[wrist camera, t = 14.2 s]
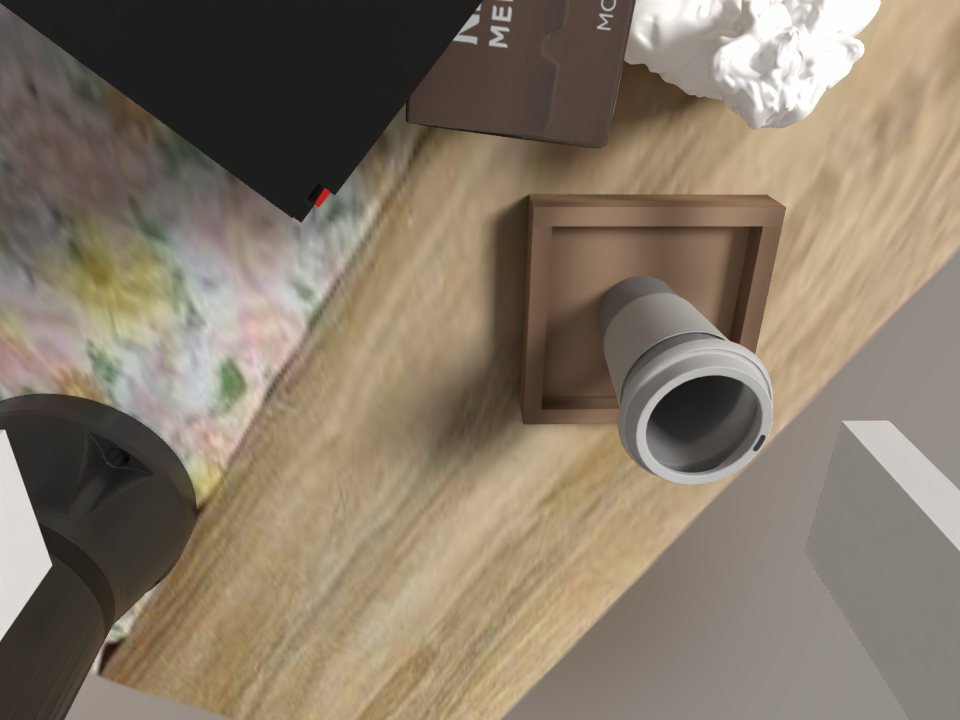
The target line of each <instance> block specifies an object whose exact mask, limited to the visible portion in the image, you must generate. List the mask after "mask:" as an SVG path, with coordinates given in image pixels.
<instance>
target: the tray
mask: <svg viewBox="0 0 960 720" xmlns="http://www.w3.org/2000/svg"><path fill="white" fill-rule="evenodd" d="M785 210H786V207H785V206H783V205H782V204H780V203H779V202H777V201H776V200H774V199H772V198H771V197H769V196H768V195H529V204H528V227H527V251H526V274H525V297H524V320H523V344H522V367H521V390H520V406H521V412H522V418H523V423H524V424H602V423H618V414H619V404H618V401H617V397H616V394H615V390H614V387H613V383H612V380H611V376H610V372H609V369H608V365H607V362H606V358H605V355H604V342H603V339H602V335H601V332H600V328H599V325H598V310H599V307H600V304H601V302H602V300H603V298H604V296H605V295H606V294H607V293H608V291H609V290H610V289H611V288H613V287H614V286H615V285H616V284H618V283H620V282H621V281H623V280H626V279H628V278H631V277H637V276H649V277H654V278H657V279H659V280H661V281H663V282H665V283H666V284H667V285H668V286H669V287H670V288H671V289H672V290H673V291H675V292H676V293H677V294H678V295H679V296H680V297H681V298H683V299H685V300H686V301H688V302H689V303H691V304H692V305H693V306H694V307H695V308H696V309H697V310H698V311H699V312H700V313H701V314H702V315H703V316H704V317H705V318H706V319H707V320H708V321H709V322H710V323H711V324H712V325H713V326H715V327H716V328H717V329H718V330H719V331H720V332H721V333H722V334H723V335H724V336H725V337H726V338H727V339H728V340H729V341H731V342H734V343H737V344H739V345H741V346H743V347H745V348H747V349H748V350H750V351H751V352H752V353H754V354H755V352H756V347H757V343H758V338H759V333H760V328H761V324H762V319H763V314H764V309H765V305H766V300H767V295H768V291H769V286H770V281H771V276H772V272H773V267H774V262H775V257H776V253H777V248H778V243H779V239H780V234H781V229H782V224H783V220H784V215H785Z"/></svg>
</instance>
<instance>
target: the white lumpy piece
mask: <svg viewBox="0 0 960 720" xmlns="http://www.w3.org/2000/svg"><path fill="white" fill-rule="evenodd" d="M879 6H880V0H636V3H635V8H634V13H633V18H632V23H631V27H630V32H629V38H628V43H627V48H626V53H625V58H624V61H626V62H627V63H629V64H645V65H646V66H647V67H648V69H649V71H650V72H655V73H658V74H659V75H660V76H661V78H662V79H663V80H664V81H665V82H668V83H671V84H675V85H676V86H678V87H679V88H681V89H682V90H683V91H684V92H685V93H686V94H688V95H695V96H697V97H703V96H705V97H707V98H714V99H718V100H721V101H723V103H724V105H725V106H727V107H728V108H730V109H731V110H732V111H733V112H735V113H739V114H740V115H741V117H742V118H743V119H744V120H745V121H746V122H747V124H748V125H749V127H750V128H751V129H754V130H755V129H759V128H766V127H772V128H784V127H787V126H790V125H793V124H795V123H797V122H799V121H801V120H803V119H804V118H805V117H807V116H808V115H809V114H810V113H811V111H812V110H813V109H814V107H815V106H816V104H817V102H818V100H819V99H820V97H821V96H822V94H823V93H824V92H825V90H829V89H831V88H832V87H833V86H834V85H835V84H837V83H838V82H839V81H840V80H841V79H842V78H844V77H845V76H846V75H847V74H848V73H849V72H850V70H851V68H852V64H853V63H854V62H856V61H857V60H858V59H859V58H860V57H861V56H862V55H863V53H864V45H863V44H862V42H861V41H860V40H858V39H855V38H854V37H855V36H856V35H857V34H858V33H860V32H861V31H862V30H863V29H864V28H865V27H866V26H867V25H868V23H869V22H870V21H871V20H872V18H873V17H874V16H875V14H876V12H877V11H878V9H879Z"/></svg>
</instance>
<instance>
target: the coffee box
mask: <svg viewBox="0 0 960 720" xmlns="http://www.w3.org/2000/svg"><path fill="white" fill-rule="evenodd" d="M635 3H636V0H483V1H482V3H481V4H480V5H479V7H478V8H477V9H476V11H475V12H474V13H473V15H472V16H471V17H470V19H469V20H468V21H467V22H466V24H465V25H464V26H463V28H462V29H461V30H460V32H459V33H458V34H457V36H456V37H455V38H454V40H453V41H452V42H451V43H450V45H449V46H448V47H447V49H446V50H445V51H444V53H443V54H442V55H441V57H440V58H439V59H438V61H437V62H436V63H435V64H434V66H433V67H432V68H431V70H430V71H429V72H428V74H427V75H426V76H425V78H424V79H423V80H422V82H421V83H420V84H419V85H418V87H417V88H416V89H415V91H414V92H413V93H412V95H411V96H410V97H409V99H408V100H407V102H406V122H407V123H413V124H418V125H423V126H430V127H437V128H444V129H451V130H459V131H466V132H473V133H480V134H488V135H495V136H502V137H510V138H517V139H524V140H534V141H541V142H548V143H557V144H564V145H571V146H580V147H588V148H601V147H603V146H605V145H606V144H607V141H608V137H609V132H610V127H611V123H612V118H613V114H614V109H615V104H616V99H617V94H618V89H619V84H620V78H621V73H622V68H623V63H624V58H625V53H626V48H627V43H628V38H629V32H630V27H631V23H632V18H633V13H634V8H635Z"/></svg>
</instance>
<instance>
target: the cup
mask: <svg viewBox="0 0 960 720" xmlns="http://www.w3.org/2000/svg"><path fill="white" fill-rule="evenodd" d="M598 325H599V328H600V332H601V335H602V339H603V342H604V355H605V358H606V362H607V365H608V369H609V372H610V376H611V380H612V383H613V387H614V390H615V394H616V397H617V401H618V404H619V414H618V431H619V436H620V439H621V442H622V444H623V446H624V448H625V450H626V452H627V453H628V455H629V456H630V457H631V458H632V459H633V460H634V461H635V462H636V463H637V464H638V465H639V466H640V467H641V468H643V469H644V470H646V471H648V472H649V473H651V474H653V475H656V476H659V477H661V478H662V479H665V480H667V481H670V482H673V483H678V484H684V485H700V484H706V483H711V482H714V481H717V480H720V479H723V478H726V477H727V476H729V475H731V474H733V473H735V472H737V471H738V470H740V469H741V468H743V467H744V466H745V465H747V464H748V463H749V462H750V461H751V460H752V459H753V458H754V457H755V456H756V455H757V454H758V452H759V451H760V449H761V448H762V447H763V445H764V444H765V442H766V440H767V437H768V435H769V433H770V429H771V425H772V421H773V408H772V402H773V392H772V387H771V381H770V378H769V375H768V372H767V370H766V368H765V366H764V365H763V363H762V362H761V361H760V359H759V358H758V357H757V356H756V355H755V354H754V353H752V352H751V351H750V350H748V349H747V348H745V347H743V346H741V345H739V344H737V343H734V342H731V341H729V340H728V339H727V338H726V337H725V336H724V335H723V334H722V333H721V332H720V331H719V330H718V329H717V328H716V327H715V326H713V325H712V324H711V323H710V322H709V321H708V320H707V319H706V318H705V317H704V316H703V315H702V314H701V313H700V312H699V311H698V310H697V309H696V308H695V307H694V306H693V305H692V304H691V303H689V302H688V301H686V300H685V299H683V298H681V297H680V296H679V295H678V294H677V293H676V292H675V291H673V290H672V289H671V288H670V287H669V286H668V285H667V284H666V283H665V282H663V281H661V280H659V279H657V278H654V277H649V276H637V277H631V278H628V279H626V280H623V281H621V282H620V283H618V284H616V285H615V286H614V287H613V288H611V289H610V290H609V291H608V293H607V294H606V295H605V296H604V298H603V300H602V302H601V304H600V307H599V310H598Z"/></svg>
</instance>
